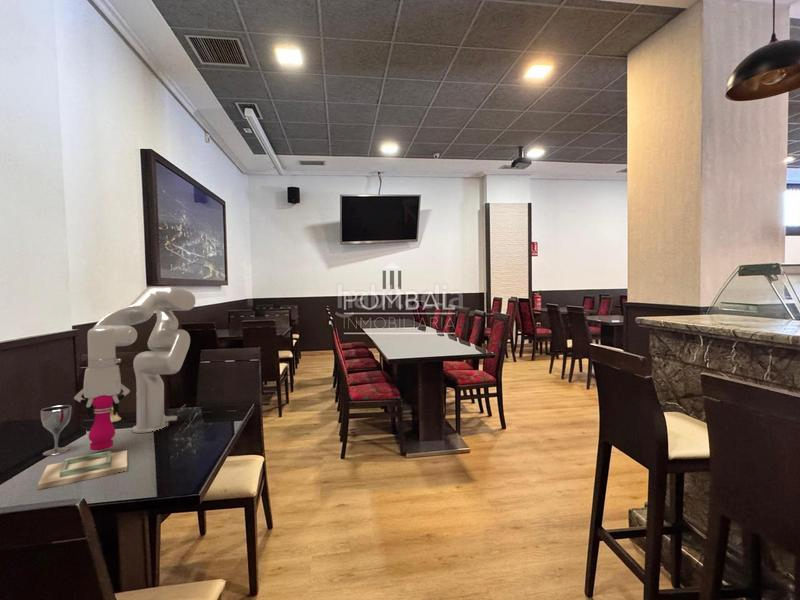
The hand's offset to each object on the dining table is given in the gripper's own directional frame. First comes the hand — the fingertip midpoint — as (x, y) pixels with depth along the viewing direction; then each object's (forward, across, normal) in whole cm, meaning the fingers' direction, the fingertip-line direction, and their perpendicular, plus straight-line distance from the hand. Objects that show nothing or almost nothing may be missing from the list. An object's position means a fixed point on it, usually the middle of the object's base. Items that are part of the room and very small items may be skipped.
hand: (103, 415), depth 133 cm
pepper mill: (+11, +1, +1) cm, 11 cm away
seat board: (+12, +4, +16) cm, 20 cm away
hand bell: (+14, 0, -45) cm, 47 cm away
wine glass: (+13, +14, -11) cm, 22 cm away
